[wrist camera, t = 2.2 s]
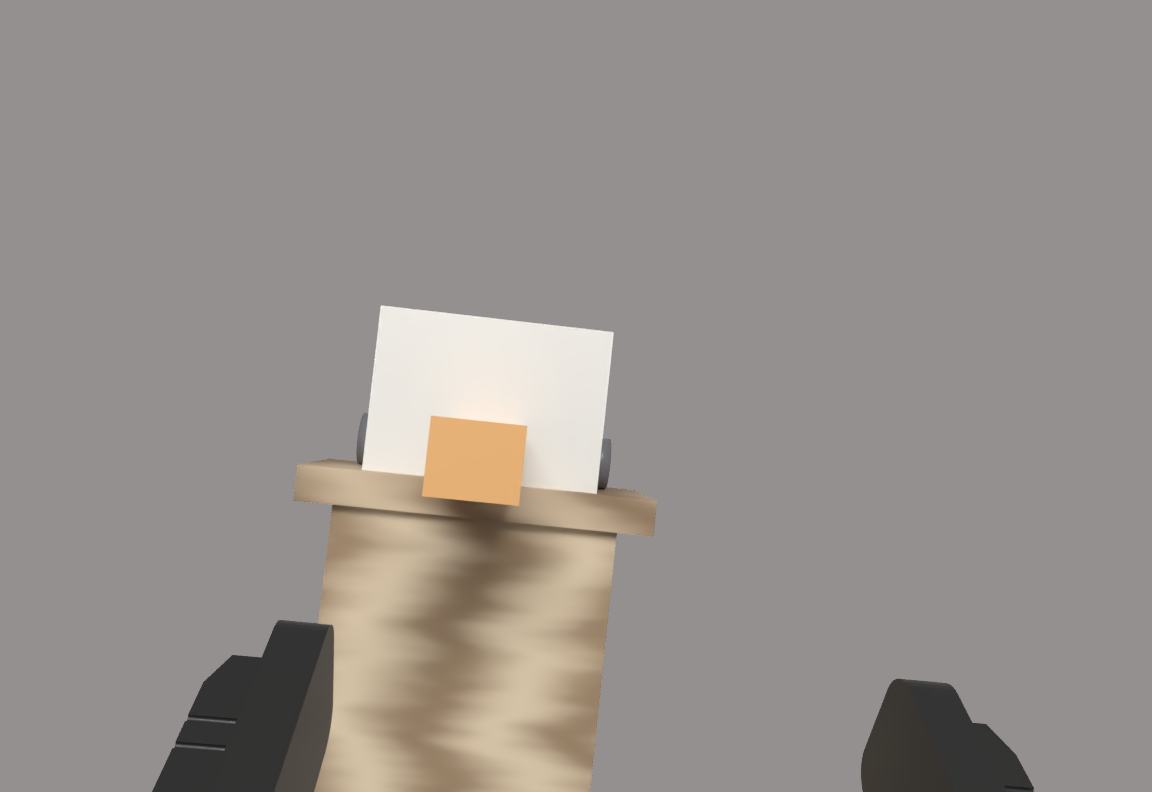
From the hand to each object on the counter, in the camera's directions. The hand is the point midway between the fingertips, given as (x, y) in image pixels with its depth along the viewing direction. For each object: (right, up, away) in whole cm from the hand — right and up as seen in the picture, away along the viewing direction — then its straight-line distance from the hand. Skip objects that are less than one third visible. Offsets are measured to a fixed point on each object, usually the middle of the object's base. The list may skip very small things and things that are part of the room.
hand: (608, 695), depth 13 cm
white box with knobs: (-4, +1, +23) cm, 24 cm away
